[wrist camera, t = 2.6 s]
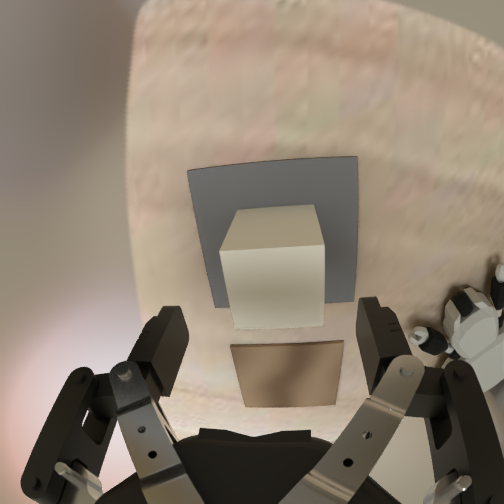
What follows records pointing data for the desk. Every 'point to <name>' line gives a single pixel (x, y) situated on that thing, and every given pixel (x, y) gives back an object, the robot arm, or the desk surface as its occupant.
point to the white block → (275, 268)
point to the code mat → (282, 194)
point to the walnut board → (288, 373)
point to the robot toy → (471, 332)
